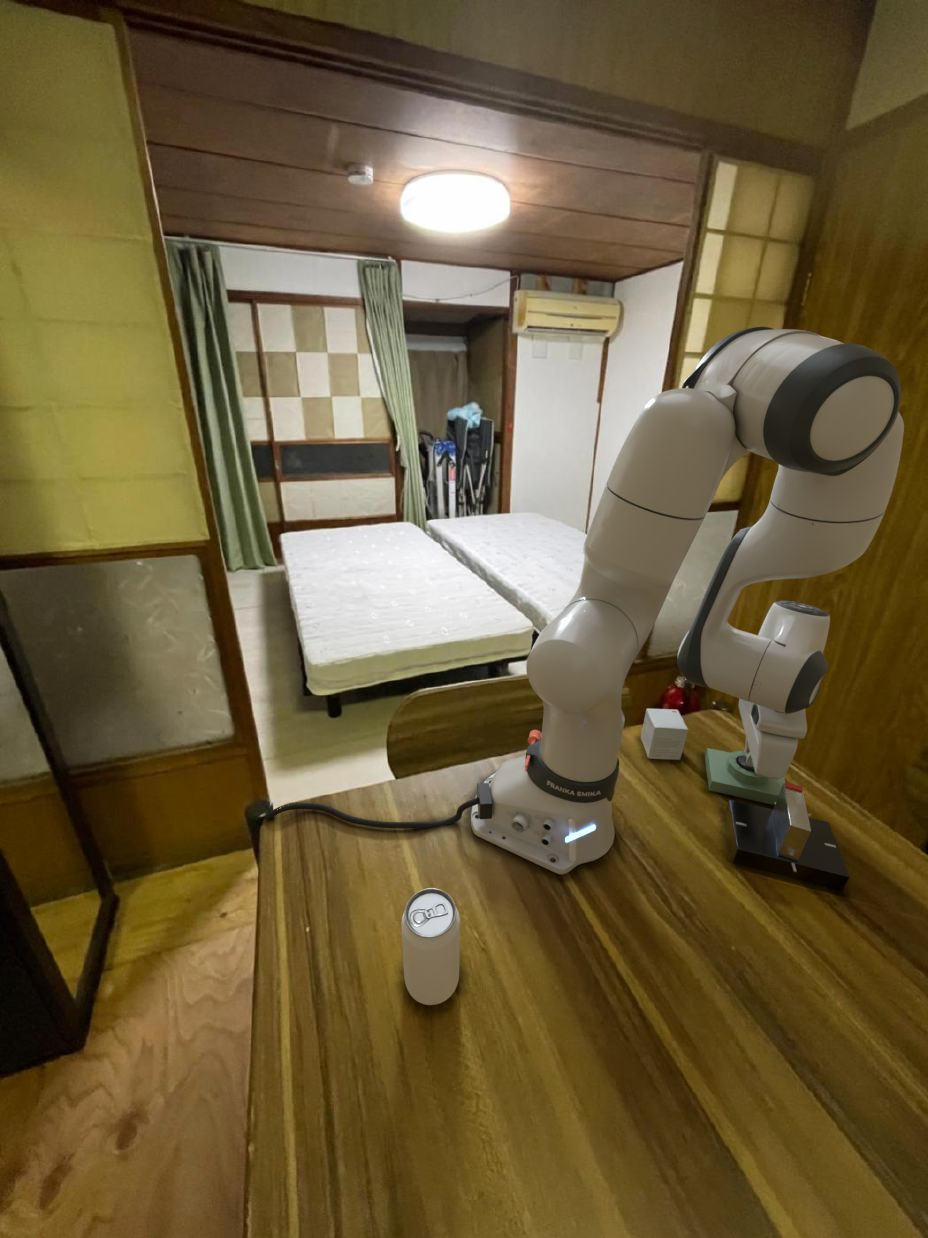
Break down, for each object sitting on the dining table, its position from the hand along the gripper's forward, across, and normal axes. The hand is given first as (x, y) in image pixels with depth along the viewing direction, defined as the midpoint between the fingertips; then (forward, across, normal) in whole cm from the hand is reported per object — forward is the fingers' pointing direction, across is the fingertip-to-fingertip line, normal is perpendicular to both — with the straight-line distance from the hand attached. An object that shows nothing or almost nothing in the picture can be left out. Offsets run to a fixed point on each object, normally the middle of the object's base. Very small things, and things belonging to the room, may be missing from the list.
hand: (749, 761), depth 89 cm
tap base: (+4, +14, +3) cm, 15 cm away
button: (+2, 0, 0) cm, 2 cm away
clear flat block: (+1, +14, +3) cm, 14 cm away
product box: (+5, -4, -14) cm, 15 cm away
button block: (+4, 0, 0) cm, 4 cm away
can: (+4, +48, -40) cm, 63 cm away
